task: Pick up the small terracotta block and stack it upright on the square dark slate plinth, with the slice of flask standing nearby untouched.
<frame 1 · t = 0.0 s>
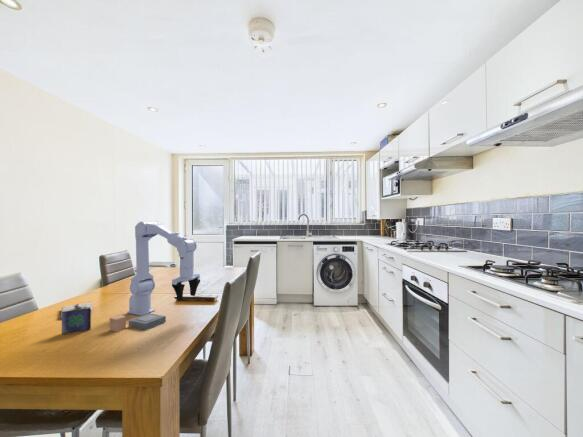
hand: (186, 297, 123), 10 cm above the table, tool pointing down, fingers open, 7 cm apart
flask: (76, 331, 110), on the table
slate plinth: (147, 324, 118), on the table
terracotta block: (117, 329, 113), on the table
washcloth: (76, 313, 134), on the table
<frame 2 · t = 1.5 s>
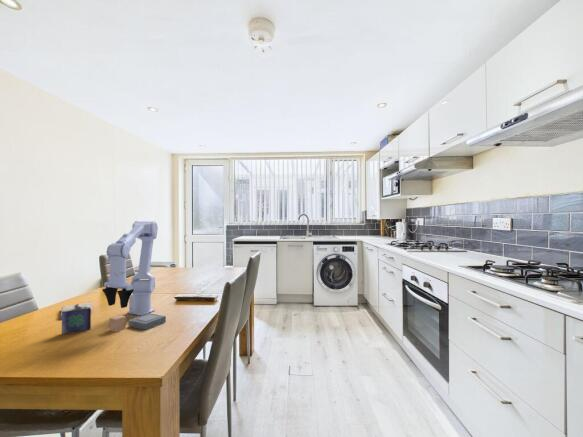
hand: (117, 306, 113), 9 cm above the table, tool pointing down, fingers open, 7 cm apart
nothing on the table moved.
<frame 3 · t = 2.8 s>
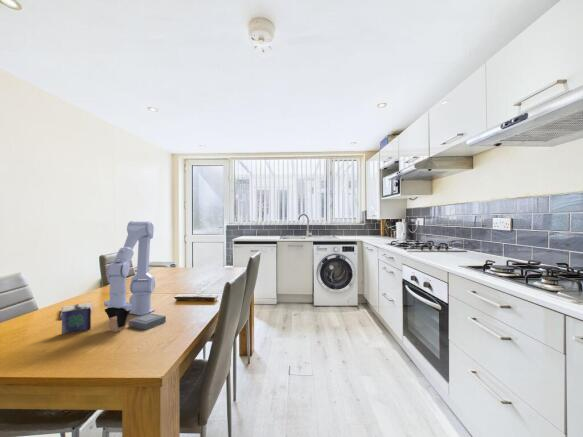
hand: (117, 325, 113), 1 cm above the table, tool pointing down, fingers closed on terracotta block, 4 cm apart
terracotta block: (117, 329, 113), on the table, touching gripper
everything else where it was.
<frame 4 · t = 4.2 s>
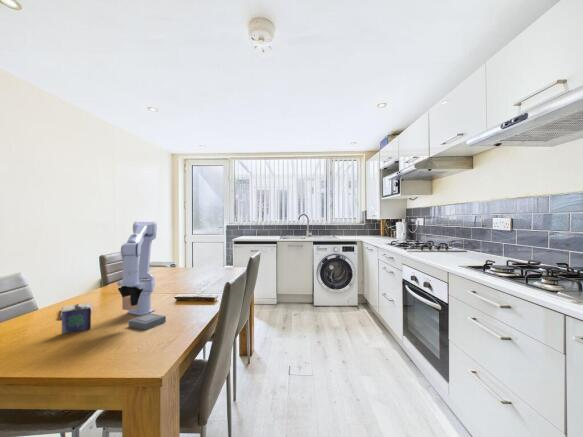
hand: (130, 304, 115), 9 cm above the table, tool pointing down, fingers closed on terracotta block, 4 cm apart
terracotta block: (130, 308, 115), point 8 cm above the table, touching gripper
everything else where it was.
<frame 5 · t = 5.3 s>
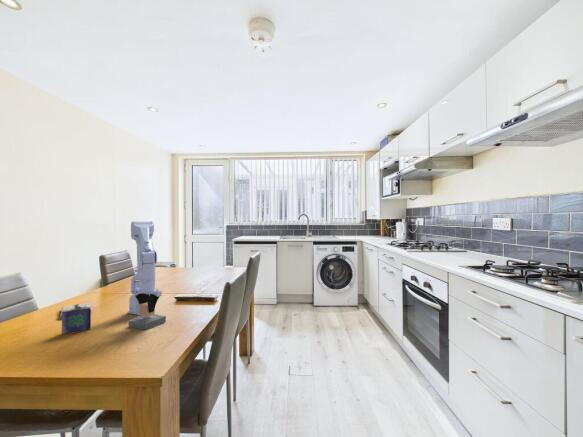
hand: (147, 311, 118), 5 cm above the table, tool pointing down, fingers closed on terracotta block, 4 cm apart
terracotta block: (147, 315, 118), point 4 cm above the table, touching gripper
everything else where it was.
when the fingers open (5 cm above the table, at t = 5.9 s): terracotta block stays where it is, resting on slate plinth.
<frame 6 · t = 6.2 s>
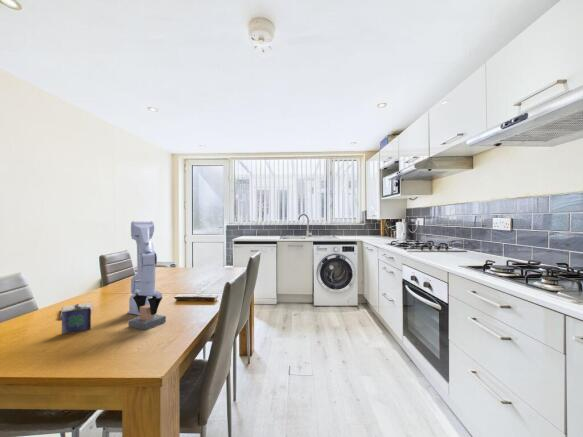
hand: (147, 313, 118), 5 cm above the table, tool pointing down, fingers open, 7 cm apart
terracotta block: (147, 318, 118), point 3 cm above the table, touching slate plinth
everything else where it was.
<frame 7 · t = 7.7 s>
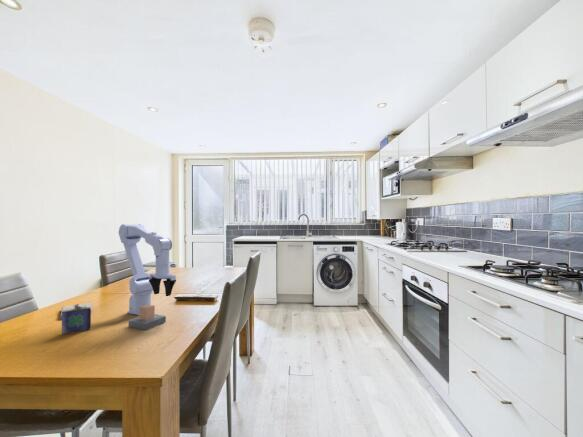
hand: (162, 294, 127), 10 cm above the table, tool pointing down, fingers open, 7 cm apart
nothing on the table moved.
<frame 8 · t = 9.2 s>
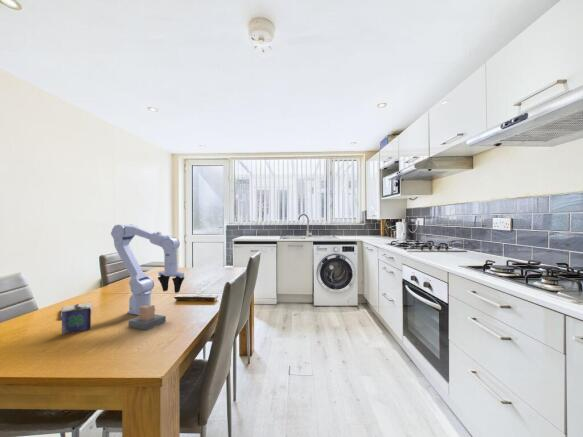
hand: (171, 291, 132), 10 cm above the table, tool pointing down, fingers open, 7 cm apart
nothing on the table moved.
at the end: terracotta block inside the target area on the slate plinth (0.2 cm from its centre), point 2.6 cm above the slate plinth's base; terracotta block tilted 0°; the gripper is holding nothing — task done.
